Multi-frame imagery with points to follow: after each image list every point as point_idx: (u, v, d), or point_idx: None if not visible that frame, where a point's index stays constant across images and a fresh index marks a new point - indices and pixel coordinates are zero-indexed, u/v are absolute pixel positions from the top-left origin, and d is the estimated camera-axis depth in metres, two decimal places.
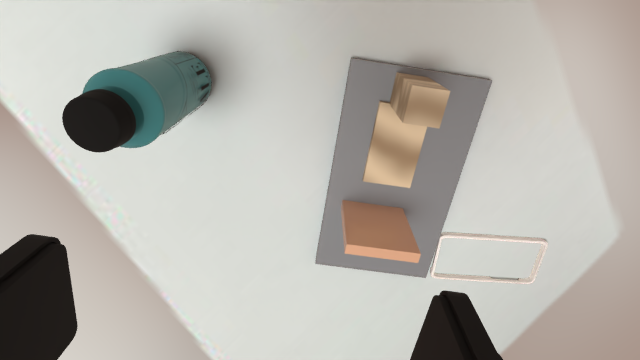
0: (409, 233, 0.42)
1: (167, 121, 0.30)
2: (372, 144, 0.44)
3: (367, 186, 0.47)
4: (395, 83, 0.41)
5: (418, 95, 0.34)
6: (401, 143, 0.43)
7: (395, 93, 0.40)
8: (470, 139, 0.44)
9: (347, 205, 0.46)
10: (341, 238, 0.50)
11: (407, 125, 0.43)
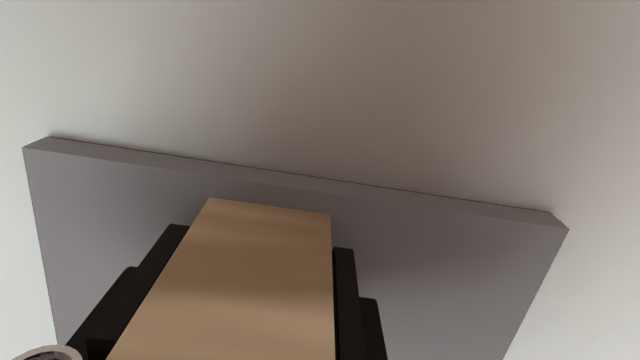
0: None
1: None
2: None
3: None
4: None
5: None
6: None
7: None
8: None
9: None
10: None
11: None
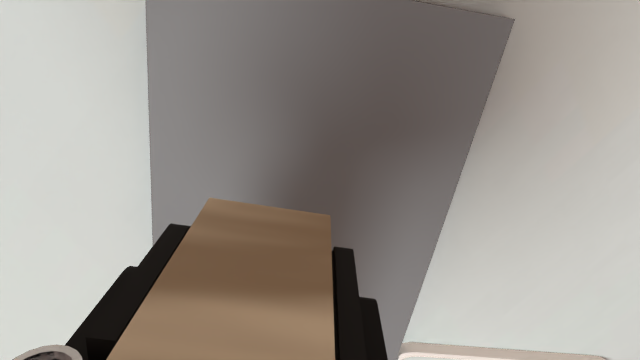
0: None
1: None
2: None
3: None
4: None
5: None
6: None
7: None
8: (459, 165, 0.19)
9: None
10: None
11: None
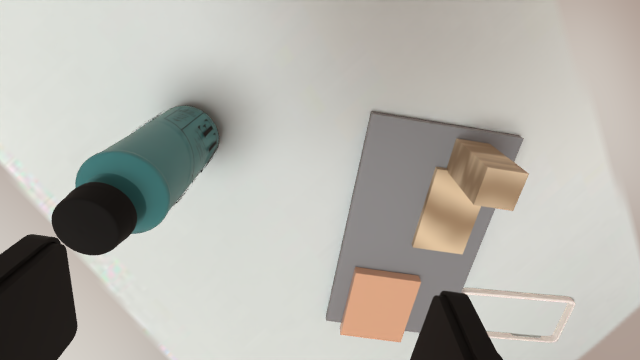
0: (405, 319, 0.46)
1: (172, 203, 0.26)
2: (425, 211, 0.41)
3: (384, 243, 0.43)
4: (455, 150, 0.38)
5: (493, 177, 0.31)
6: (456, 210, 0.41)
7: (456, 162, 0.37)
8: None
9: (358, 282, 0.44)
10: None
11: (464, 192, 0.40)
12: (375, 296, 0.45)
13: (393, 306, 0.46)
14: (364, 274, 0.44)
